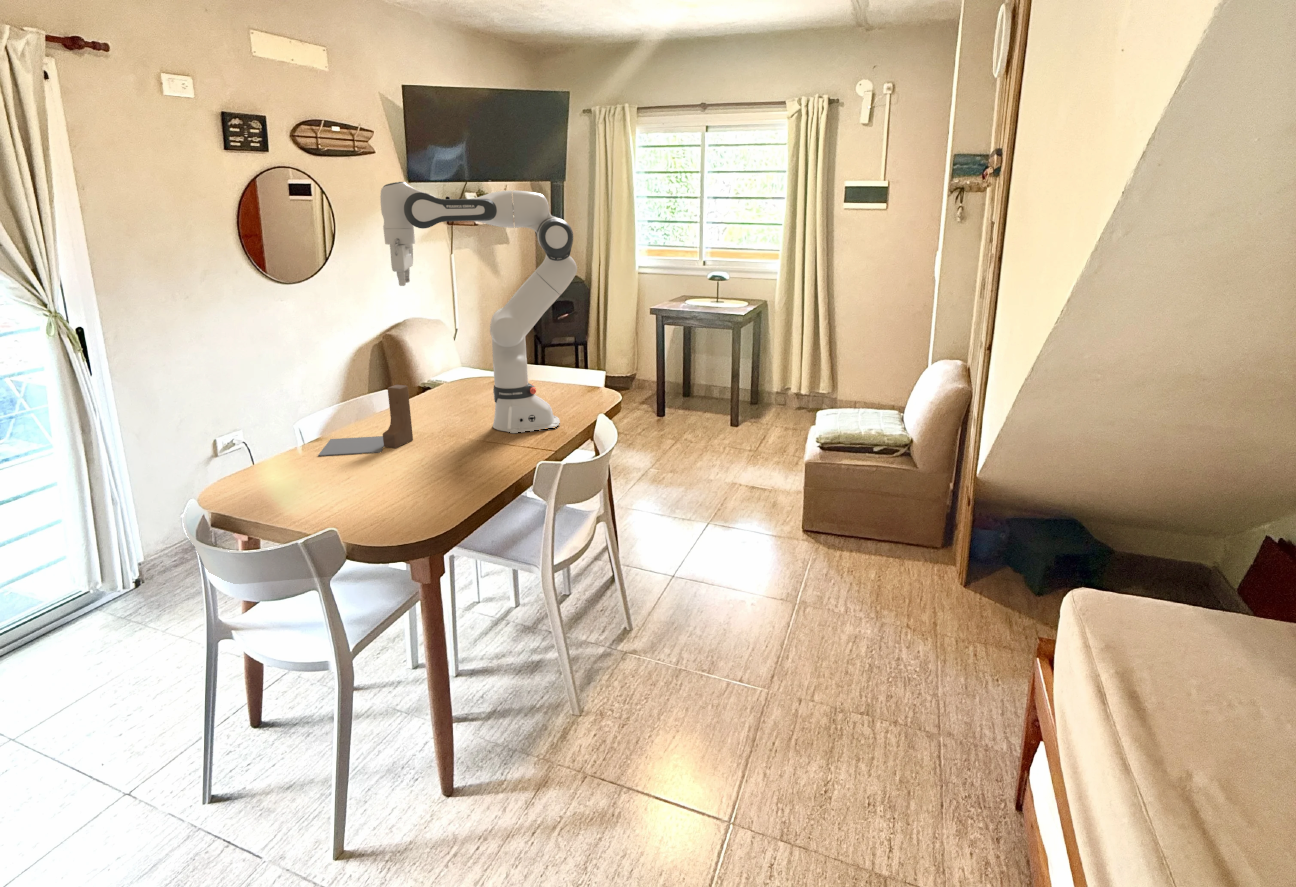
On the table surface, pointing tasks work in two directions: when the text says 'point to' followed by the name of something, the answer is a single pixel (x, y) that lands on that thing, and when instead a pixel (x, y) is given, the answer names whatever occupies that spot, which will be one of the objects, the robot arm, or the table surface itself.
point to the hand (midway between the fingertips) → (404, 284)
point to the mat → (353, 446)
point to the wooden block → (398, 417)
